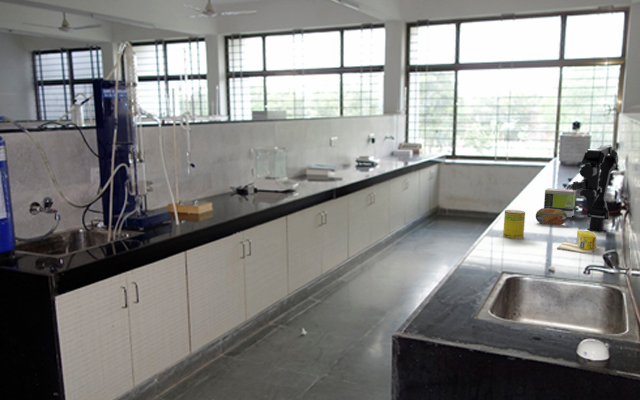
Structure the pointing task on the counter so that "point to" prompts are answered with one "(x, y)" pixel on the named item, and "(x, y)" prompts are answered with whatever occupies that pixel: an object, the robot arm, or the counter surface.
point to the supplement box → (586, 240)
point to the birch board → (574, 248)
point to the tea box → (560, 200)
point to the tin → (551, 216)
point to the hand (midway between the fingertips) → (589, 209)
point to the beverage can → (514, 224)
